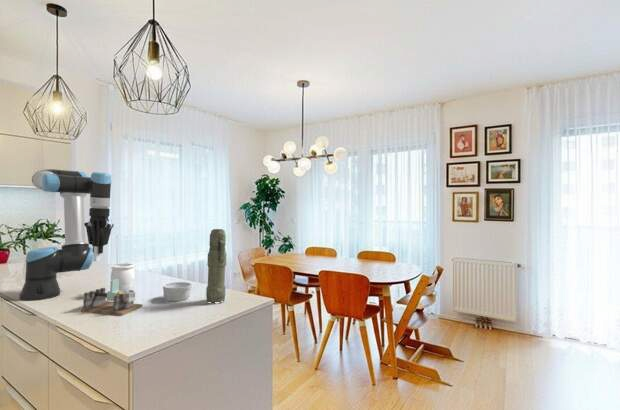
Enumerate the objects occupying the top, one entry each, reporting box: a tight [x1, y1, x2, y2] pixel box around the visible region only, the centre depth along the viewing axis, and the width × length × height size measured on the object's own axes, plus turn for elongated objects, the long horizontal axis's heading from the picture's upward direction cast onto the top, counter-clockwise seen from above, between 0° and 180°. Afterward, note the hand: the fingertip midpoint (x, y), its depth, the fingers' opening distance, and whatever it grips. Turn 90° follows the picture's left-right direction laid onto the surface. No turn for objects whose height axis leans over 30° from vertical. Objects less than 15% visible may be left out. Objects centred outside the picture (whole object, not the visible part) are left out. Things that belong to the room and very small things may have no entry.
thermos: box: [205, 228, 227, 303], centre depth 156 cm, size 9×12×35 cm
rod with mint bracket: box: [80, 287, 143, 317], centre depth 140 cm, size 20×12×8 cm, turn 80°
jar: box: [110, 263, 136, 293], centre depth 163 cm, size 11×10×15 cm
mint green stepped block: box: [106, 279, 122, 302], centre depth 140 cm, size 4×4×9 cm
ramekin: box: [162, 281, 193, 303], centre depth 159 cm, size 13×13×7 cm
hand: (97, 260), depth 142 cm, fingers closed
